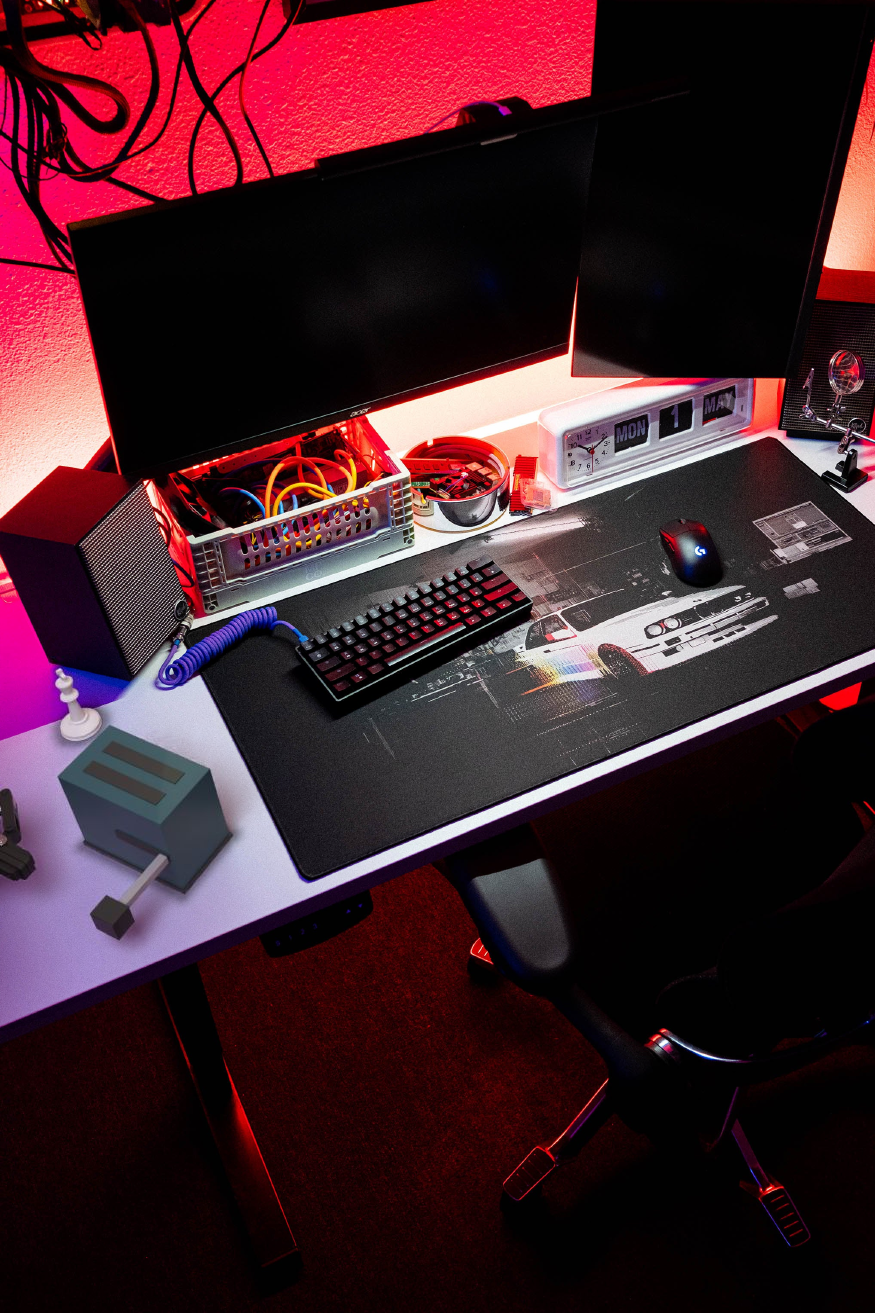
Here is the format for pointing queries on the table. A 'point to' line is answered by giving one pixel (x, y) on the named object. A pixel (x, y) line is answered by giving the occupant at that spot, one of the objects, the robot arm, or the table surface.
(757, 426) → the table surface
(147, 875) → the slider
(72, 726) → the chess piece
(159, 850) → the toaster
